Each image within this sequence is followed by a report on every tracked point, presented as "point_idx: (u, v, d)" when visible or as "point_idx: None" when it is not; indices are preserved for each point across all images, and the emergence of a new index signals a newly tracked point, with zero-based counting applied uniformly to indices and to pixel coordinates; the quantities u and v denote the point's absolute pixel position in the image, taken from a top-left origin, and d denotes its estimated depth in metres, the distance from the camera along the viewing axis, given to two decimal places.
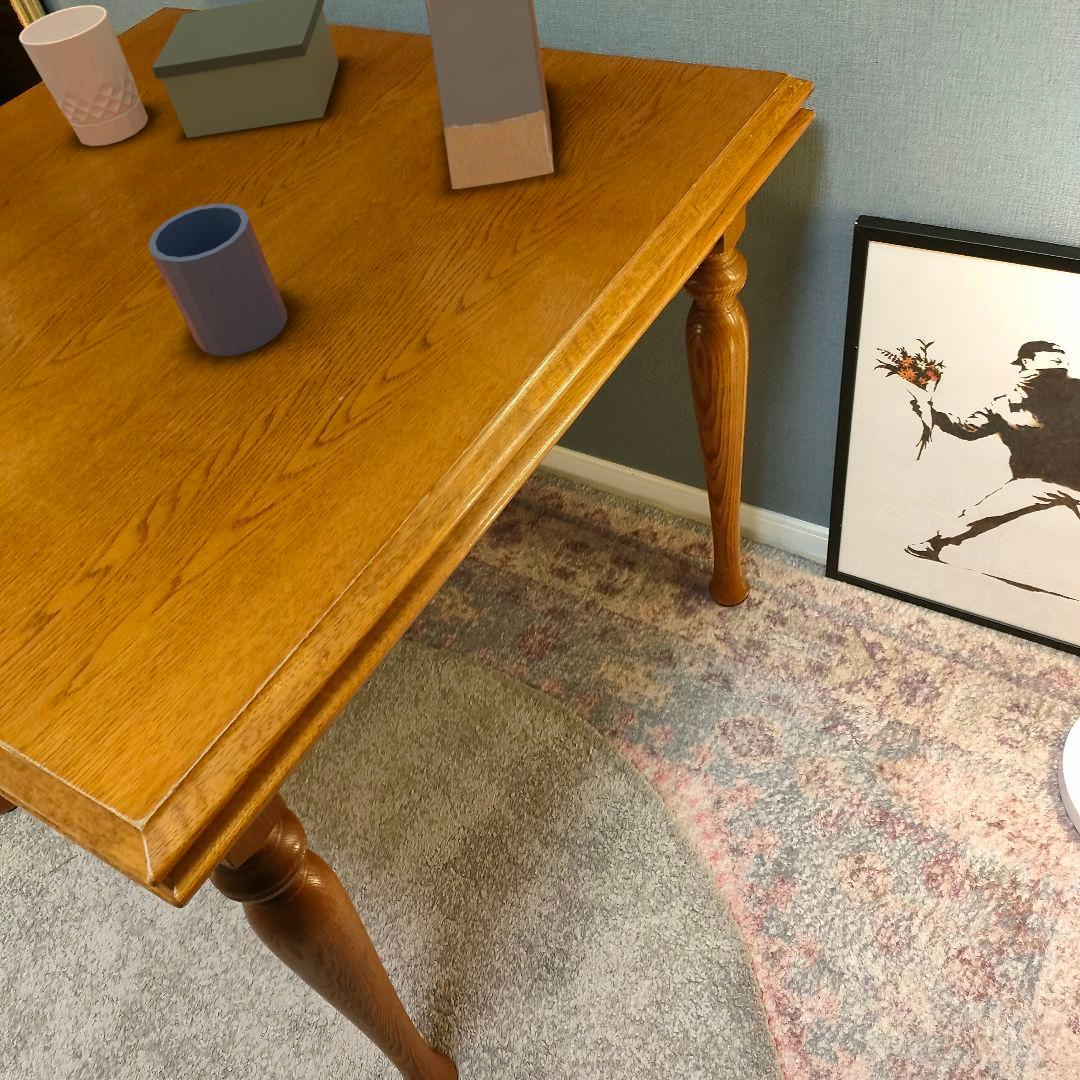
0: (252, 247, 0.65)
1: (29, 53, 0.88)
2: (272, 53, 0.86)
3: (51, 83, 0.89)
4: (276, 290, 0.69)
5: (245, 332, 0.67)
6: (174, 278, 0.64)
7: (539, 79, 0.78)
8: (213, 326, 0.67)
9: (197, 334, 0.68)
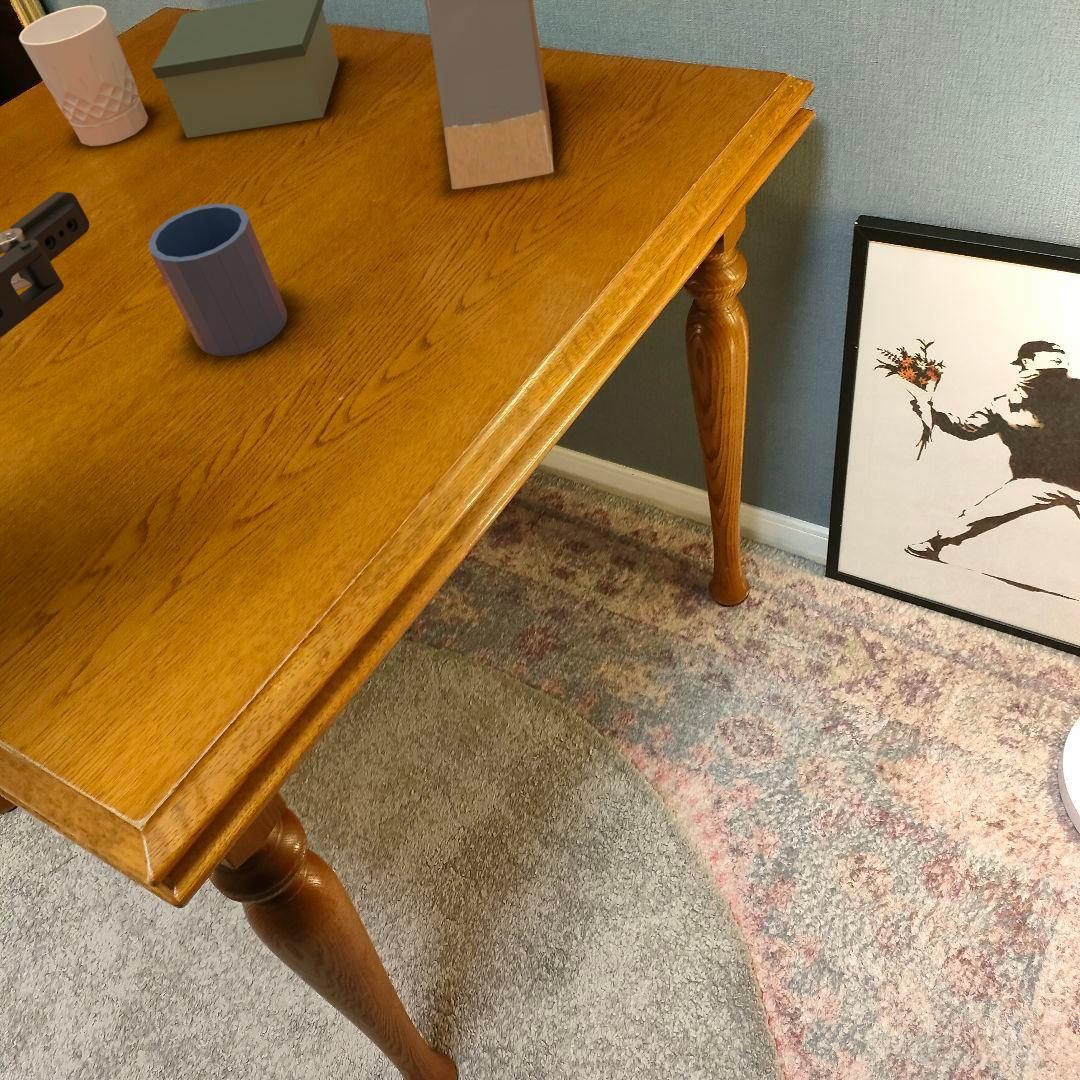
0: (252, 247, 0.65)
1: (29, 53, 0.88)
2: (272, 53, 0.86)
3: (51, 83, 0.89)
4: (276, 290, 0.69)
5: (245, 332, 0.67)
6: (174, 278, 0.64)
7: (539, 79, 0.78)
8: (213, 326, 0.67)
9: (197, 334, 0.68)
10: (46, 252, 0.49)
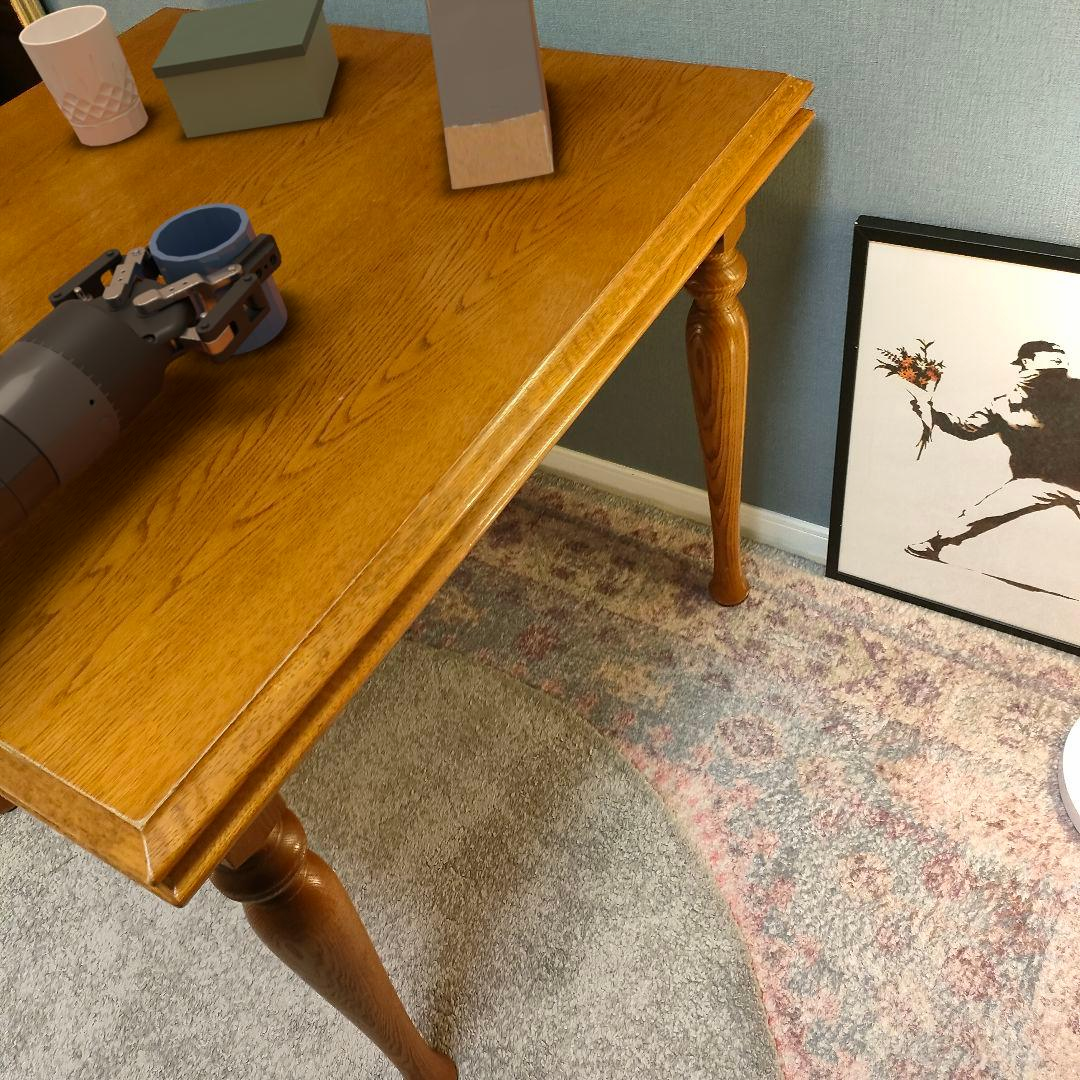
0: None
1: (29, 53, 0.88)
2: (272, 53, 0.86)
3: (51, 83, 0.89)
4: (277, 290, 0.69)
5: None
6: (174, 278, 0.64)
7: (539, 79, 0.78)
8: None
9: None
10: None
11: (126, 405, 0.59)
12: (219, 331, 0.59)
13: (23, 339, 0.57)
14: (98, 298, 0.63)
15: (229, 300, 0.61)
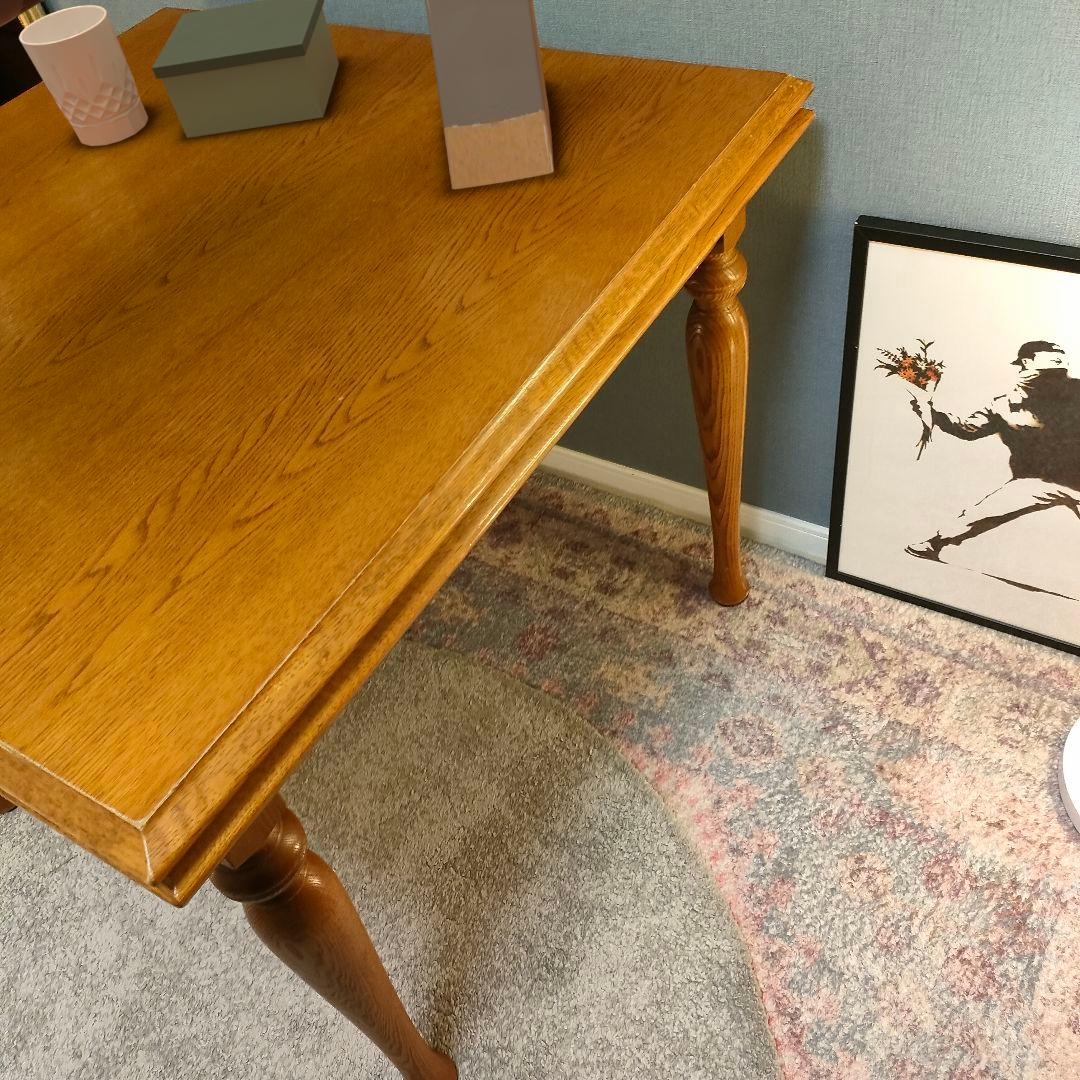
0: None
1: (29, 53, 0.88)
2: (272, 53, 0.86)
3: (51, 83, 0.89)
4: None
5: None
6: None
7: (539, 79, 0.78)
8: None
9: None
10: None
11: None
12: None
13: None
14: None
15: None
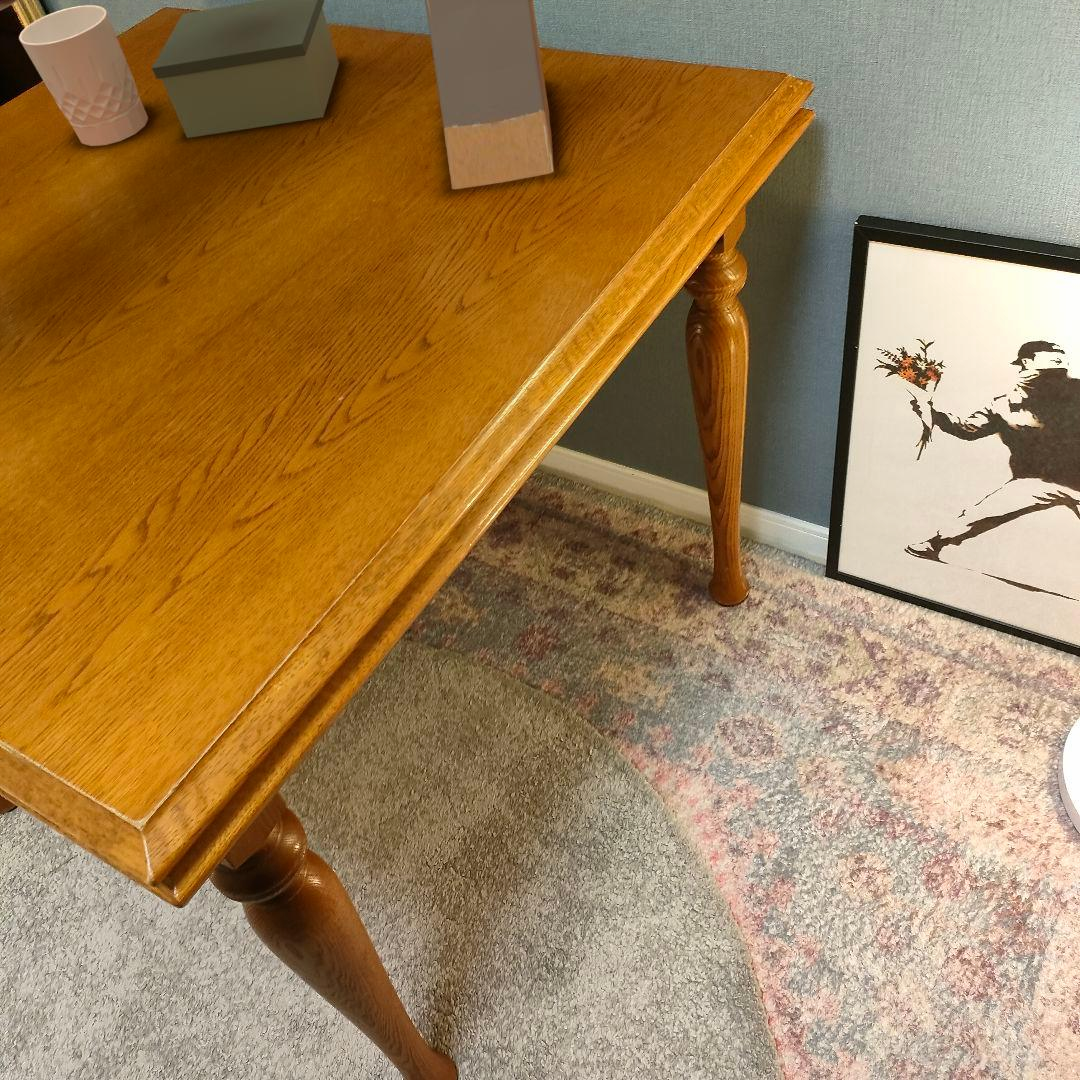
0: None
1: (29, 53, 0.88)
2: (272, 53, 0.86)
3: (51, 83, 0.89)
4: None
5: None
6: None
7: (539, 79, 0.78)
8: None
9: None
10: None
11: None
12: None
13: None
14: None
15: None
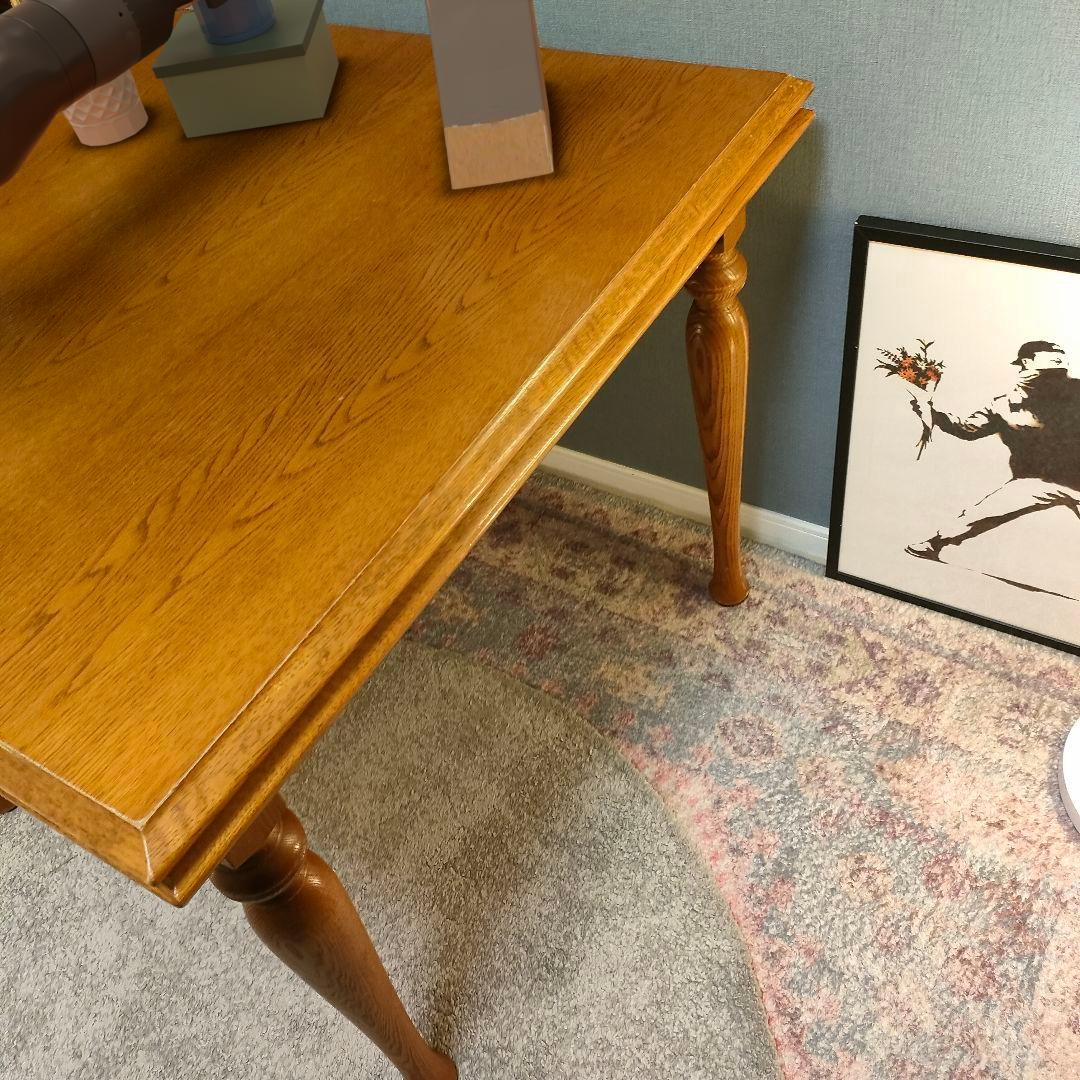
0: None
1: None
2: (272, 53, 0.86)
3: None
4: None
5: (241, 17, 0.86)
6: None
7: (539, 79, 0.78)
8: (216, 9, 0.86)
9: (203, 20, 0.87)
10: None
11: (146, 28, 0.77)
12: None
13: None
14: None
15: None
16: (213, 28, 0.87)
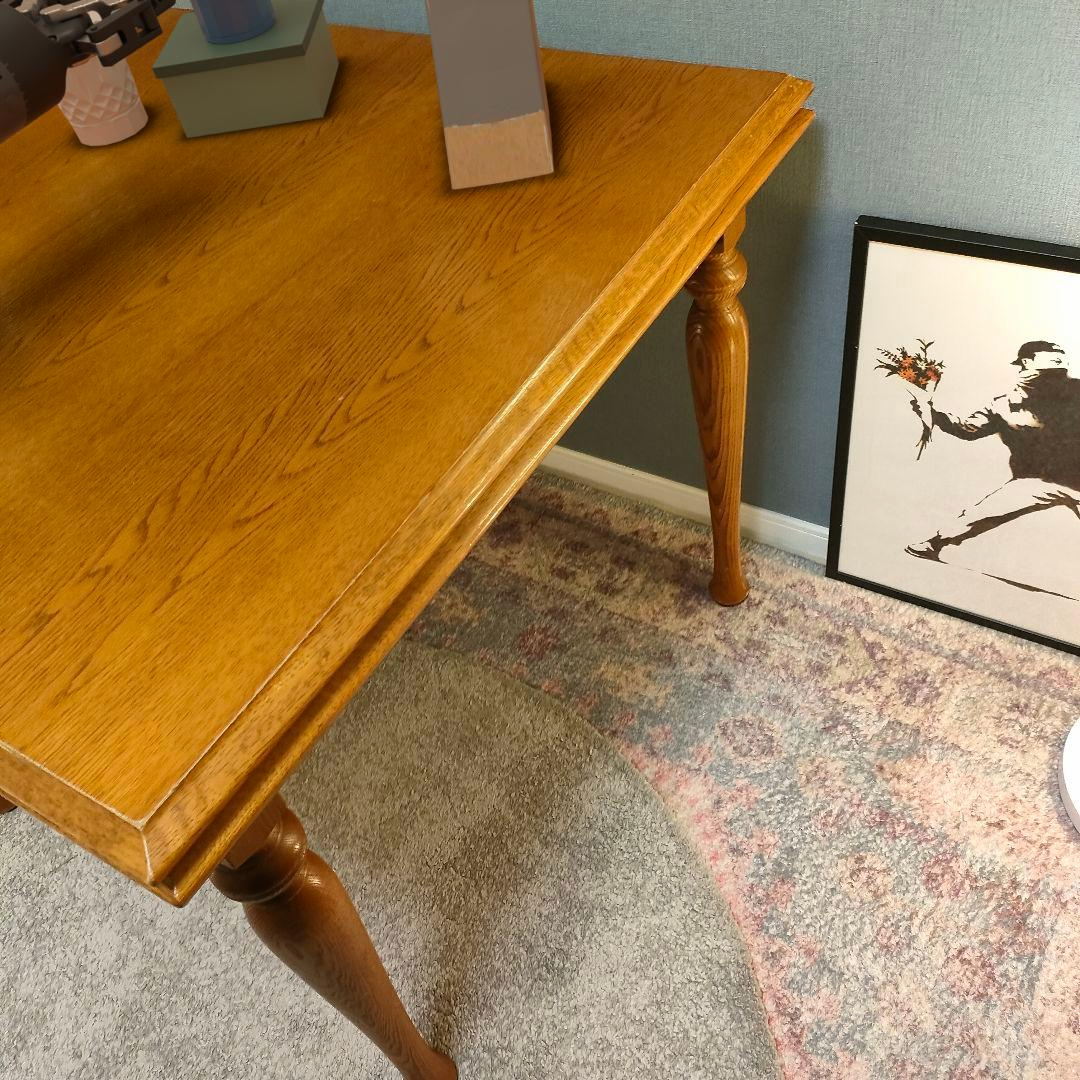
0: None
1: None
2: (272, 53, 0.86)
3: None
4: None
5: (241, 17, 0.86)
6: None
7: (539, 79, 0.78)
8: (216, 9, 0.86)
9: (203, 20, 0.87)
10: None
11: (31, 90, 0.70)
12: (106, 35, 0.71)
13: None
14: None
15: (120, 13, 0.72)
16: (213, 28, 0.87)
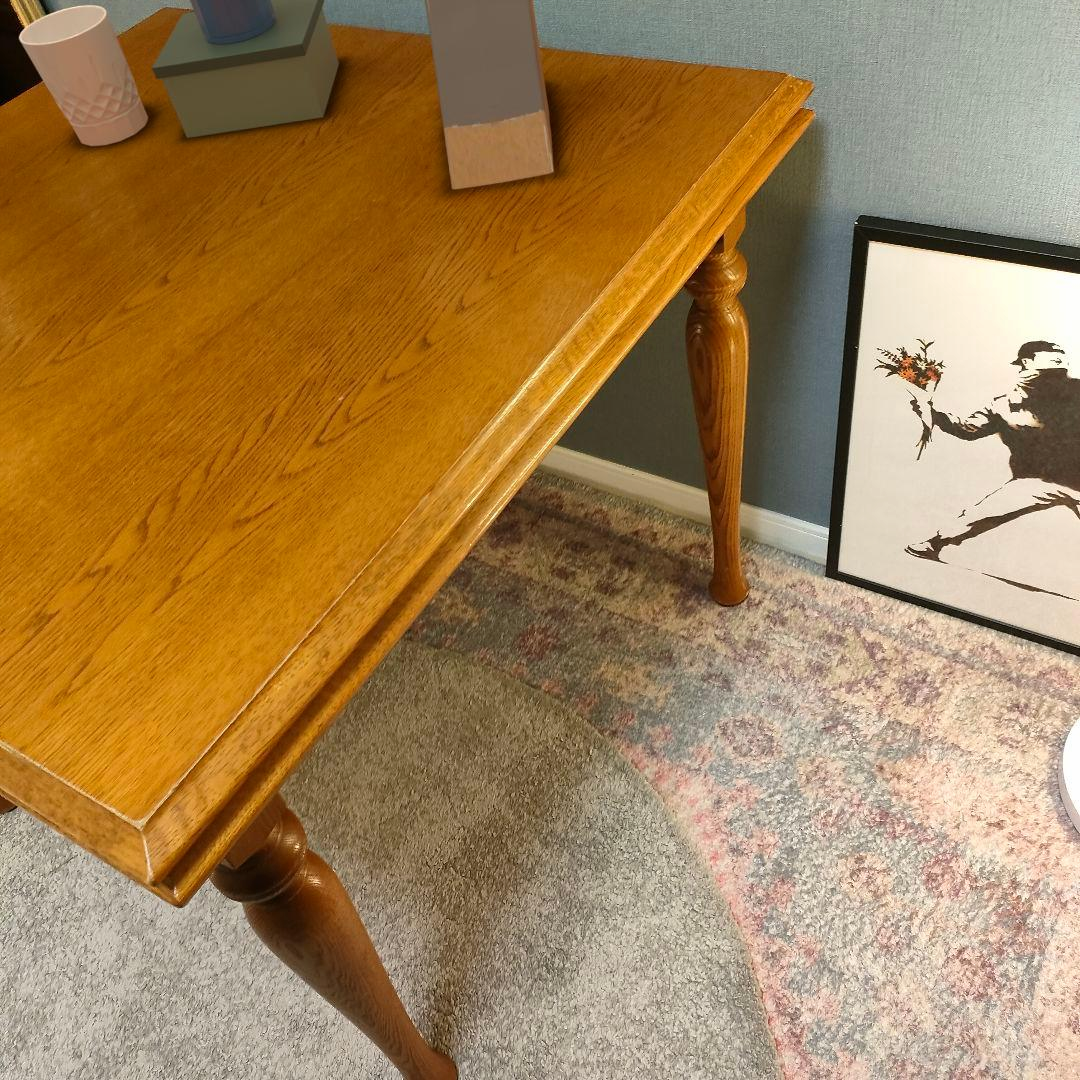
0: None
1: (29, 53, 0.88)
2: (272, 53, 0.86)
3: (51, 83, 0.89)
4: None
5: (241, 17, 0.86)
6: None
7: (539, 79, 0.78)
8: (216, 9, 0.86)
9: (203, 20, 0.87)
10: None
11: None
12: None
13: None
14: None
15: None
16: (213, 28, 0.87)
